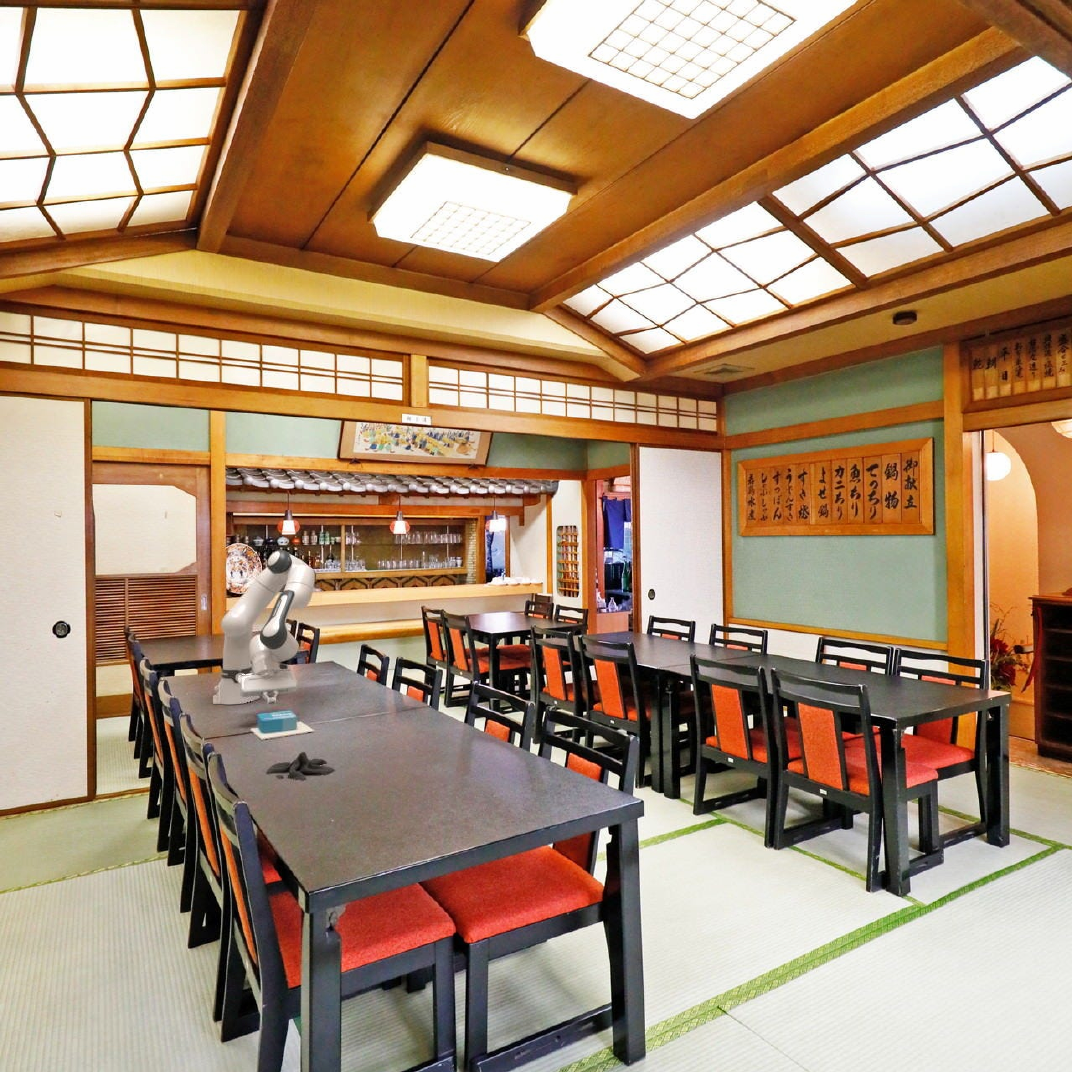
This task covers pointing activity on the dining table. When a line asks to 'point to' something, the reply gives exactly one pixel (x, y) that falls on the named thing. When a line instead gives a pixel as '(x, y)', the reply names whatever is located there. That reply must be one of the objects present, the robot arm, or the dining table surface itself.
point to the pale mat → (282, 732)
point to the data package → (277, 721)
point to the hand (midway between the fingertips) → (271, 702)
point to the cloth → (300, 768)
